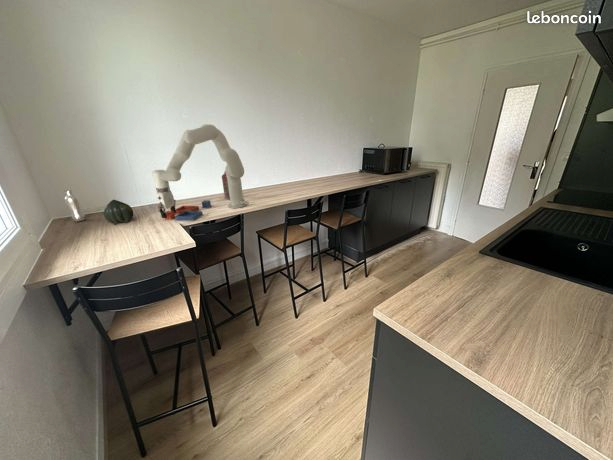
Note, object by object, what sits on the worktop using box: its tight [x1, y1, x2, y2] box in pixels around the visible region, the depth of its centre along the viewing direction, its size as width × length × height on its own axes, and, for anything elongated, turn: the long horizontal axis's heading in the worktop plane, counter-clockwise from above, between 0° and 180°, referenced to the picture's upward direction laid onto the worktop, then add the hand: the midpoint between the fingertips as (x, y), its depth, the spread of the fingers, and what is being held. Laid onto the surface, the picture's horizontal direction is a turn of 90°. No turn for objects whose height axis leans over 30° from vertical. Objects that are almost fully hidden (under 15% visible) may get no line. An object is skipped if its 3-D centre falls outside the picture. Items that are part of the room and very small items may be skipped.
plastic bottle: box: [63, 189, 86, 223], centre depth 159 cm, size 6×7×20 cm
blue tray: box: [175, 210, 204, 222], centre depth 166 cm, size 12×11×2 cm
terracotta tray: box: [175, 205, 200, 215], centre depth 177 cm, size 12×11×2 cm
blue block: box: [201, 199, 212, 209], centre depth 186 cm, size 4×4×4 cm
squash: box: [103, 199, 134, 225], centre depth 158 cm, size 14×15×15 cm
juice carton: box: [221, 170, 230, 201], centre depth 205 cm, size 7×7×22 cm
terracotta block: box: [164, 210, 176, 221], centre depth 164 cm, size 4×4×4 cm
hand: (169, 215), depth 164 cm, fingers open, 9 cm apart
